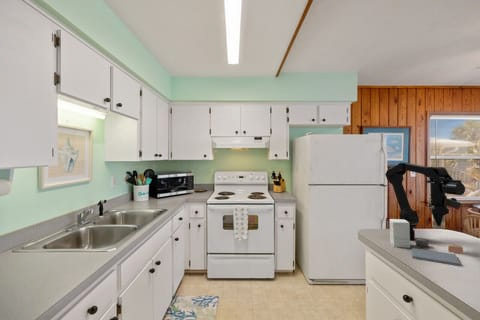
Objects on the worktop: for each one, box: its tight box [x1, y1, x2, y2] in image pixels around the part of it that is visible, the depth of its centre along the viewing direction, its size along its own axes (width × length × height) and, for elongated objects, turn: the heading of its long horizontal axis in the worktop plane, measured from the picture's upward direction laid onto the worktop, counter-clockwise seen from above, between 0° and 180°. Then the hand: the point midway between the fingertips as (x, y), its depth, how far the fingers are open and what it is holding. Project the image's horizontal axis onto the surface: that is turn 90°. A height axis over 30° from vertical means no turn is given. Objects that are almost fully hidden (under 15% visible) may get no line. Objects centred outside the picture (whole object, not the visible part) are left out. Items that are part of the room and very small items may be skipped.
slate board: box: [411, 247, 461, 267], centre depth 111 cm, size 16×12×1 cm
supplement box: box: [389, 218, 411, 249], centre depth 127 cm, size 7×7×13 cm
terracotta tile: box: [447, 243, 464, 255], centre depth 117 cm, size 5×3×3 cm, turn 56°
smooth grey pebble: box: [415, 238, 429, 249], centre depth 125 cm, size 5×5×3 cm
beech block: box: [431, 214, 446, 230], centre depth 121 cm, size 4×4×6 cm
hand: (438, 224), depth 121 cm, fingers closed on beech block, 4 cm apart
